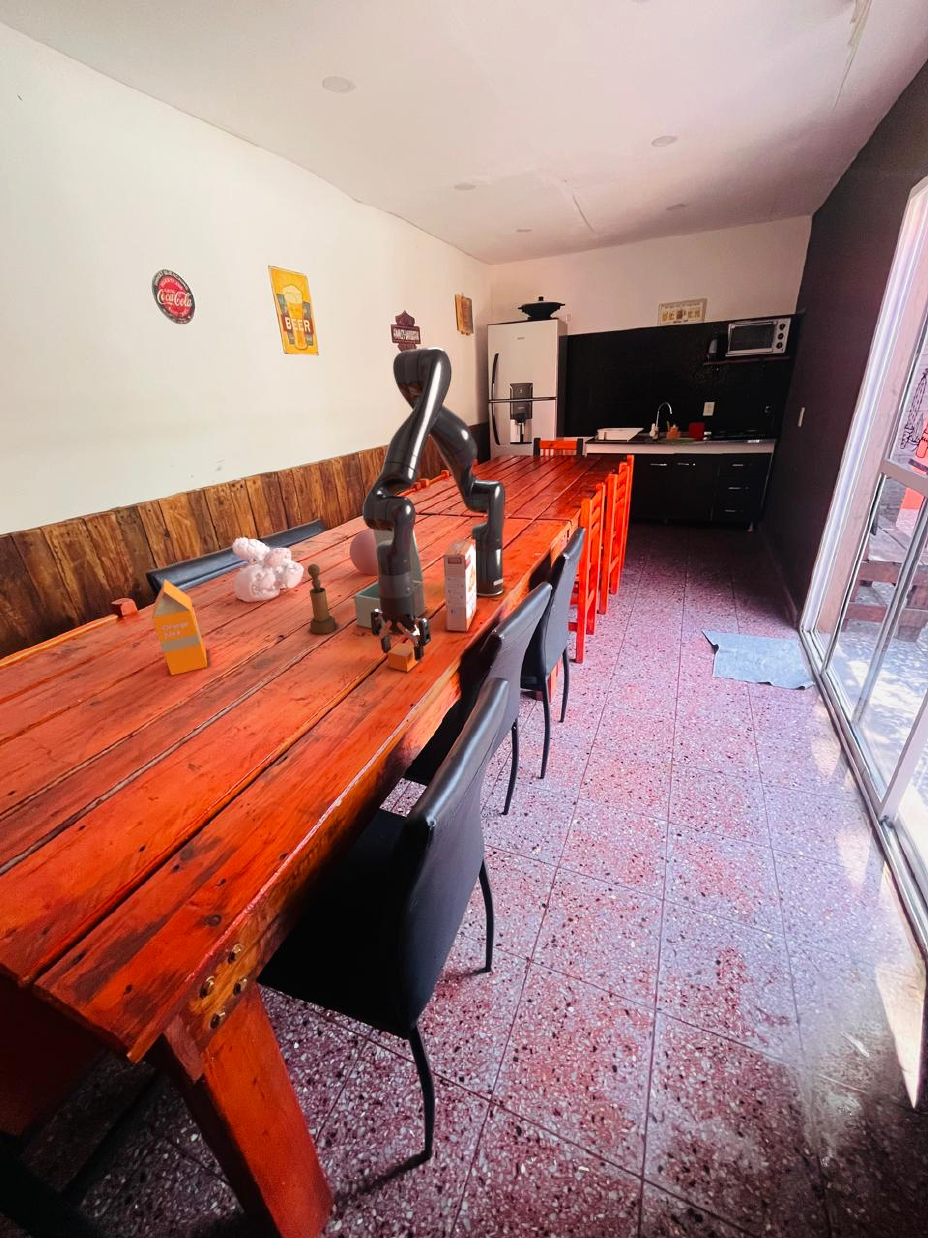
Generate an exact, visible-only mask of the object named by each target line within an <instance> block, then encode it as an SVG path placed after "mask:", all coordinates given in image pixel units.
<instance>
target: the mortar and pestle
mask: <svg viewBox="0 0 928 1238" xmlns="http://www.w3.org/2000/svg"><path fill="white" fill-rule="evenodd" d="M307 573H308V574H309V576H310V577H311V578H312V581H311V585H312V588H311V589H310V590H309V596H310V600H311V606H312V610H313V611H312V612H313V618H312V619H311V620H310V622H309V624H310V630H311V633H314V634H317V635H322V634H323V635H324V634H329V633H332V632H334V631H335V630H336V629H337V622H336V618H335V617H334V616H332V615H330V609H329V604H328V597H327V591H326V588H325V587H321V584H322V581H321V580H320V579H319V576H320V573H321V569H320V566H319V565H318V564H315V563H312V564H309V565H308V567H307Z"/></svg>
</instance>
